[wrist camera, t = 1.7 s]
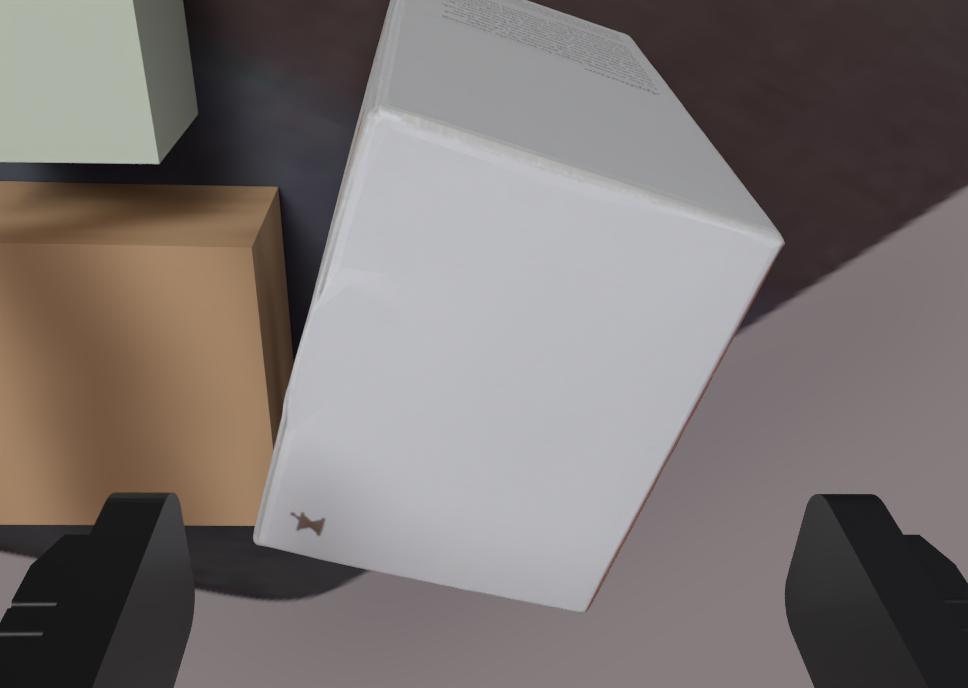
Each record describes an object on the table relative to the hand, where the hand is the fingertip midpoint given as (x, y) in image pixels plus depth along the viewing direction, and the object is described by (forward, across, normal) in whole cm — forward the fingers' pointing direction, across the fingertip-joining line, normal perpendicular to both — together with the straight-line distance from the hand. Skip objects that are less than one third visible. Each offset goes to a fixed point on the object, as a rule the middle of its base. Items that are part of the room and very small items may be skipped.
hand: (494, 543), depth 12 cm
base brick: (+16, +10, +6) cm, 20 cm away
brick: (+16, +10, -3) cm, 19 cm away
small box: (+16, 0, 0) cm, 16 cm away
